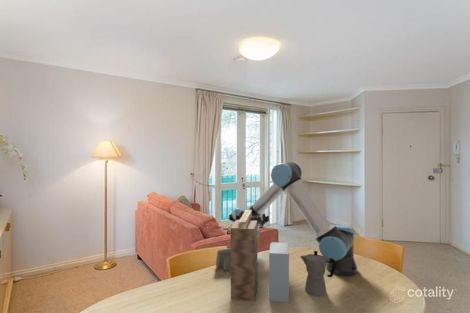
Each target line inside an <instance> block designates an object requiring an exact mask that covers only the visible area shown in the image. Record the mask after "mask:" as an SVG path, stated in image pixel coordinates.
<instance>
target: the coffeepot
mask: <svg viewBox="0 0 470 313" xmlns="http://www.w3.org/2000/svg"><path fill="white" fill-rule="evenodd" d="M318 253H319V252H318V251H317V250H313V254H312V253H309V254H306V255H301V256H300V259H301V260H302V261H303V262H304V265H305V266H306V267H305V268H306V272H307V276H306V282H305V286H304V290H305V292H306V294H308V295H309V296H312V297H317V298H318V297H323V296H325V295H326V294H327V293H328V292H327V287H326V286H327V285H326V282H325V277H324V275H325V273H326V269H327V268H326V263H333V265H332V269H331V271H329V274H326V277H327V278H333V275H334V271H335V269H336V266H337V262H336V261H335V260H334V259H333V258H325V257H324V256H323V255H322V254H318Z"/></svg>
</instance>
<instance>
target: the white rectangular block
mask: <svg viewBox="0 0 470 313" xmlns="http://www.w3.org/2000/svg"><path fill="white" fill-rule="evenodd" d="M269 243H270V244H269V252H268V268H269V269H268V275H269V276H268V282H269V284H268V287H269V288H268V290H269V291H268V292H269V293H268V299H269V300H268V302H275V303H290V274H289V273H290V250H289V243H288V242H275V241H272V242H269Z"/></svg>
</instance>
